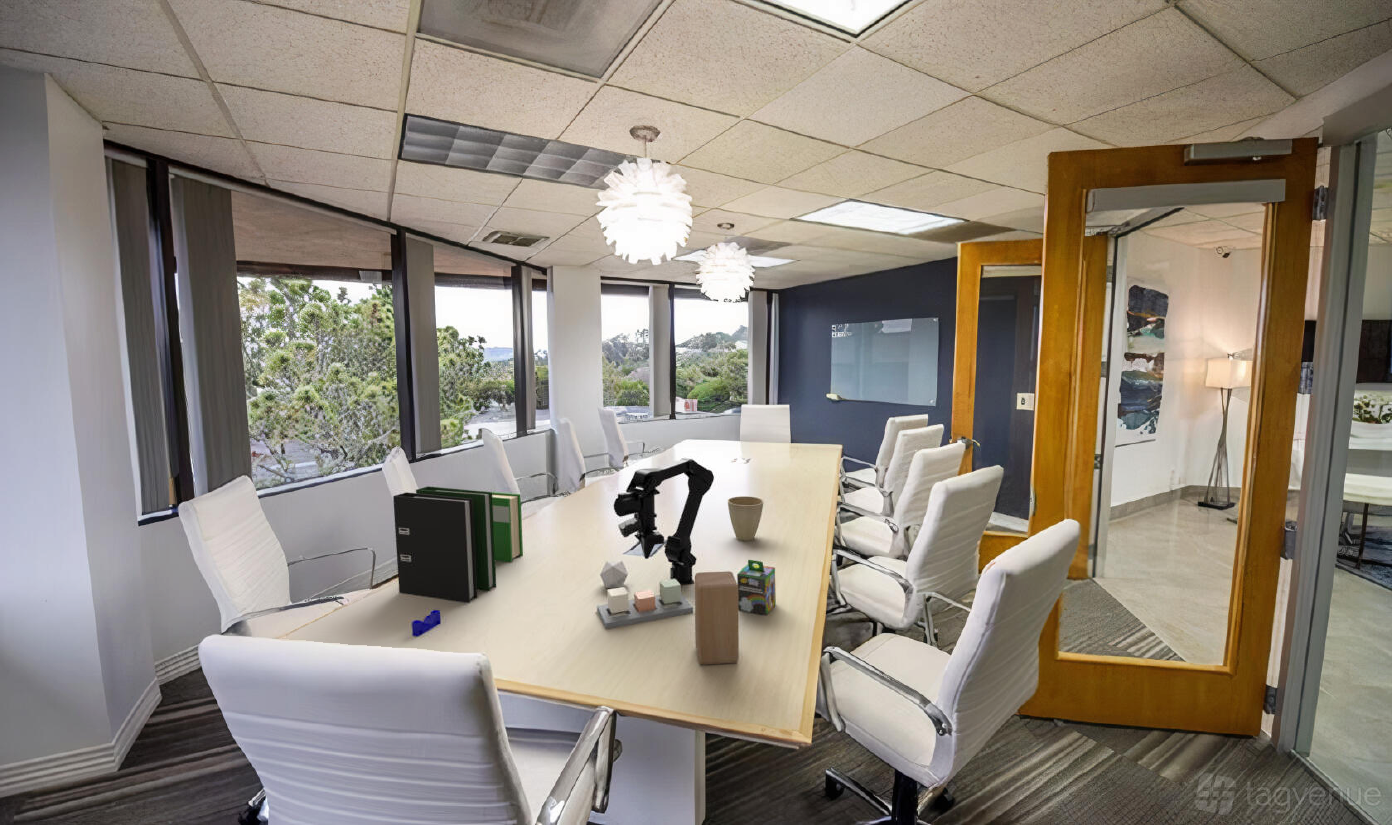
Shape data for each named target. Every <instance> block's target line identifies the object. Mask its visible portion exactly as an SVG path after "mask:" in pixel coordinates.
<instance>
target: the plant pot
mask: <svg viewBox="0 0 1392 825" xmlns="http://www.w3.org/2000/svg"><path fill="white" fill-rule="evenodd" d="M727 506H728V514H729V518H730V523H731V526H732V529H733V532H734V535H735V537H736V539H737V540H739V541H744V542H745V541H746V542H748V541H752V540H754V539H755V537H756V534H757V532H758V528H759V524H760V521H761V518H762V514H763V508H764V500H763V499H761V498H759V497H754V496H750V495H749V496H746V495H745V496H741V495H740V496H734V497H733V496H732V497H730V498H728V499H727Z"/></svg>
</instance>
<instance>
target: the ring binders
mask: <svg viewBox="0 0 1392 825" xmlns="http://www.w3.org/2000/svg"><path fill="white" fill-rule="evenodd" d="M492 492H493V491H486V492H484V490H483V491H482V490H471V489H462V488H461V489H458V488H449V487H440V486H439V487H438V486H429V485H428V486H424V487H422V488H417V489H415V492H406V491H405V492H404V493H400V494H396V495H393V497H392V498H393V511H394V513H393V514H394V528H395V529H394V530H395V531H394V533H395V544H396V545H395V547H396V561H397V562H396V564H397V576H398V577H397V581H398V590H399V591H398V594H403V595H410V596H417V597H422V598H423V597H424V598H431V599H438V600H446V601H452V602H458V603H465V604H470V603H471V599H478V591H482V592H490V588H495V589H496V588H497V570H496V560H495V545H494V522H493V500H492Z"/></svg>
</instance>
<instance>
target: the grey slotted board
mask: <svg viewBox="0 0 1392 825" xmlns="http://www.w3.org/2000/svg"><path fill="white" fill-rule="evenodd" d="M654 596H655V609H654V610H649V611H643V612H637V611H636V609H635V608H634V598H633V599H629V610H628V611H626V613H627V614H623V615H617V616H610V614H612V613H611V611H610V609H609V607H608V603H606V604H605V603H604V604H599V605H597V606H596V611H597V614H598V616H599V617H600V620H601V622H602V623H603V626H604V628H605V630H607V629H614V628H618V627H624V626H628V625H633V624H640V623H645V622H650V621H656V620H661V619H665V618H671V617H677V616H683V615H686V614H692V613H694V606H692V604H691V603H690V602H689V601H688V600H687V599H686V597H685V596H684V595H683V594H682V593H681V601H678V602H676V603H677V605H672V606H667V607H664V604H665V603H664V602H663V601H662V599H661V598H660V594H658V595H654Z"/></svg>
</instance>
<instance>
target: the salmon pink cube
mask: <svg viewBox="0 0 1392 825" xmlns="http://www.w3.org/2000/svg"><path fill="white" fill-rule="evenodd" d="M633 596H634V597H633V599H634V608H635V609H636V611H637V612H643V611H649V610H654V609H655V596H656V595H655V594H654V593H653V591H652V590H651V589H648V590H641V591H635V592H633Z"/></svg>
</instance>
